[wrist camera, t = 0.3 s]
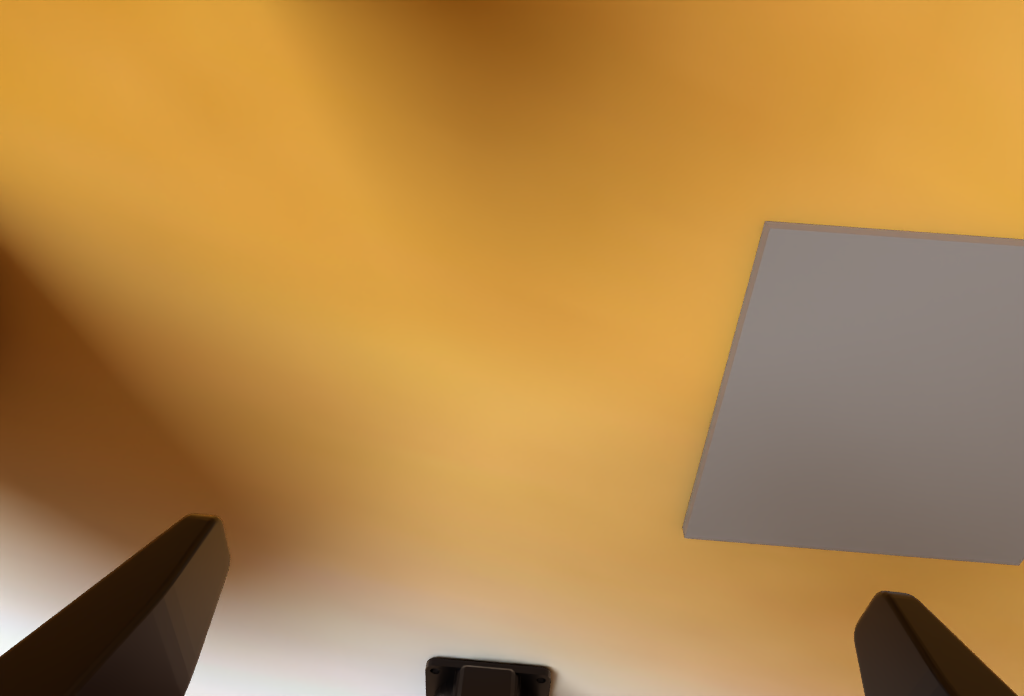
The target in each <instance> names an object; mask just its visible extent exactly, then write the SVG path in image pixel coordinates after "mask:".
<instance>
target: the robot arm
mask: <svg viewBox="0 0 1024 696" xmlns="http://www.w3.org/2000/svg"><path fill="white" fill-rule="evenodd" d="M229 566H230V552H229V547H228V542H227V538H226V533H225V528H224V524H223V521H222V519H221V518H220V517H219V516H215V515H206V514H197V513H194V514H189V515H187V516H185V517H183V518H182V519H181V520H179V521H178V522H177V523H175V524H174V525H173V526H171V527H170V528H169V529H168V530H166V531H165V532H164V533H162V534H161V535H160V536H158V537H157V538H156V539H154V540H153V541H152V542H150V543H149V544H148V545H146V546H145V547H144V548H143V549H141V550H140V551H139V552H137V553H136V554H135V555H133V556H132V557H131V558H129V559H128V560H127V561H125V562H124V563H123V564H121V565H120V566H119V567H118V568H116V569H115V570H114V571H112V572H111V573H110V574H108V575H107V576H106V577H104V578H103V579H102V580H100V581H99V582H98V583H96V584H95V585H94V586H93V587H91V588H90V589H89V590H87V591H86V592H85V593H83V594H82V595H81V596H79V597H78V598H77V599H75V600H74V601H73V602H71V603H70V604H69V605H67V606H66V607H65V608H64V609H62V610H61V611H60V612H58V613H57V614H56V615H54V616H53V617H52V618H50V619H49V620H48V621H46V622H45V623H44V624H42V625H41V626H40V627H39V628H37V629H36V630H35V631H33V632H32V633H31V634H29V635H28V636H27V637H25V638H24V639H23V640H21V641H20V642H19V643H17V644H16V645H15V646H14V647H12V648H11V649H10V650H8V651H7V652H6V653H4V654H3V655H2V656H0V696H184V695H185V692H186V690H187V688H188V685H189V683H190V681H191V678H192V675H193V673H194V670H195V667H196V664H197V662H198V659H199V656H200V653H201V650H202V647H203V644H204V641H205V638H206V635H207V632H208V629H209V626H210V623H211V621H212V618H213V615H214V612H215V609H216V606H217V603H218V600H219V597H220V594H221V591H222V588H223V585H224V582H225V579H226V577H227V573H228V570H229ZM854 642H855V648H856V653H857V658H858V663H859V668H860V673H861V678H862V683H863V688H864V693H865V696H1018V695H1017V694H1016V693H1014V692H1013V691H1012V690H1011V689H1010V688H1009V687H1008V686H1007V685H1006V684H1005V683H1004V682H1003V681H1002V680H1001V679H1000V678H999V677H998V676H997V675H996V674H995V673H994V672H993V671H992V670H991V669H990V668H989V667H987V666H986V665H985V664H984V663H983V662H982V661H981V660H980V659H979V658H978V657H977V656H976V655H975V654H974V653H973V652H972V651H971V650H970V649H969V648H968V647H967V646H966V645H965V644H964V643H963V642H962V641H960V640H959V639H958V638H957V637H956V636H955V635H954V634H953V633H952V632H951V631H950V630H949V629H948V628H947V627H946V626H945V625H944V624H943V623H942V622H941V621H940V620H939V619H938V618H937V617H936V616H935V615H933V614H932V613H931V612H930V611H929V610H928V609H927V608H926V607H925V606H924V605H923V604H922V603H921V602H920V601H919V600H918V599H917V598H915V597H914V596H912V595H910V594H906V593H899V592H890V591H881V592H879V593H877V594H876V595H875V596H874V598H873V599H872V601H871V602H870V604H869V605H868V607H867V608H866V610H865V612H864V613H863V615H862V616H861V618H860V619H859V621H858V623H857V625H856V628H855V632H854ZM425 674H426V696H549V690H550V683H551V672H550V671H549V670H548V669H546V668H542V667H531V666H520V665H508V664H497V663H485V662H473V661H462V660H450V659H439V658H432V659H429V660H428V661H427V664H426V670H425Z"/></svg>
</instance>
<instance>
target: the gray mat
mask: <svg viewBox="0 0 1024 696" xmlns="http://www.w3.org/2000/svg"><path fill="white" fill-rule="evenodd" d="M682 528H683V533H684V537H685V538H690V539H702V540H714V541H726V542H738V543H751V544H763V545H775V546H787V547H799V548H812V549H824V550H836V551H848V552H861V553H873V554H885V555H897V556H909V557H922V558H934V559H946V560H958V561H970V562H983V563H995V564H1007V565H1020V564H1021V562H1022V561H1023V559H1024V240H1023V239H1009V238H995V237H981V236H967V235H953V234H939V233H925V232H911V231H897V230H883V229H869V228H855V227H841V226H827V225H813V224H799V223H785V222H771V221H765V223H764V227H763V231H762V234H761V238H760V242H759V246H758V249H757V253H756V257H755V260H754V264H753V268H752V272H751V275H750V279H749V283H748V286H747V290H746V294H745V297H744V301H743V305H742V309H741V312H740V316H739V320H738V323H737V327H736V331H735V335H734V338H733V342H732V346H731V349H730V353H729V357H728V360H727V364H726V368H725V372H724V375H723V379H722V383H721V386H720V390H719V394H718V397H717V401H716V405H715V409H714V412H713V416H712V420H711V423H710V427H709V431H708V435H707V438H706V442H705V446H704V449H703V453H702V457H701V460H700V464H699V468H698V472H697V475H696V479H695V483H694V486H693V490H692V494H691V498H690V501H689V505H688V509H687V512H686V516H685V520H684V523H683V527H682Z"/></svg>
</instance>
